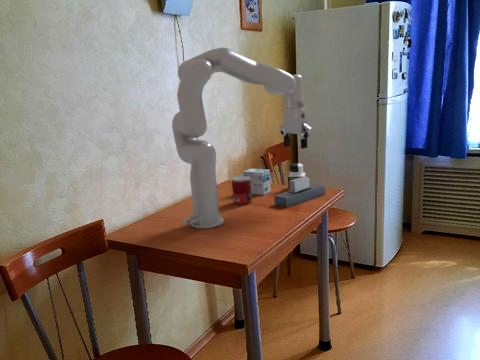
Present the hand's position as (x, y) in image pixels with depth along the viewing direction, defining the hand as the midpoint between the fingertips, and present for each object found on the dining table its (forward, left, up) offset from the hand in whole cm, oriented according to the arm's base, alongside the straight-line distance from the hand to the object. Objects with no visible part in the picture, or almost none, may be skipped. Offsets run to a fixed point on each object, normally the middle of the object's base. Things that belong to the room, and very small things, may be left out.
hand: (295, 147), depth 182 cm
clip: (0, -1, -22) cm, 22 cm away
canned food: (-17, +16, -23) cm, 33 cm away
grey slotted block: (+1, -1, -23) cm, 23 cm away
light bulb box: (-2, +23, -23) cm, 33 cm away
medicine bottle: (+13, +12, -23) cm, 29 cm away
